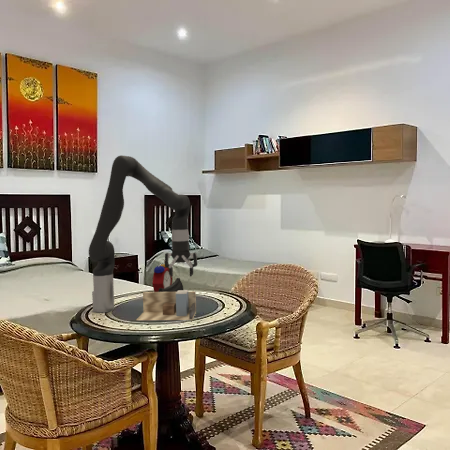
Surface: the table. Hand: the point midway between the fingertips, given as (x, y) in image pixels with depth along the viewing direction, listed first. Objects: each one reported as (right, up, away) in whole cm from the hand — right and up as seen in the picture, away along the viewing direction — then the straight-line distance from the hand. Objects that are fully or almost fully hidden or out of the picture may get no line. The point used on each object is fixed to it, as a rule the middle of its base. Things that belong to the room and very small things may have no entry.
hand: (181, 276), depth 197 cm
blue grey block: (+1, -17, +1) cm, 17 cm away
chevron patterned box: (-6, -18, -1) cm, 19 cm away
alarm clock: (-16, -16, +50) cm, 55 cm away
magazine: (-8, -17, +27) cm, 33 cm away
